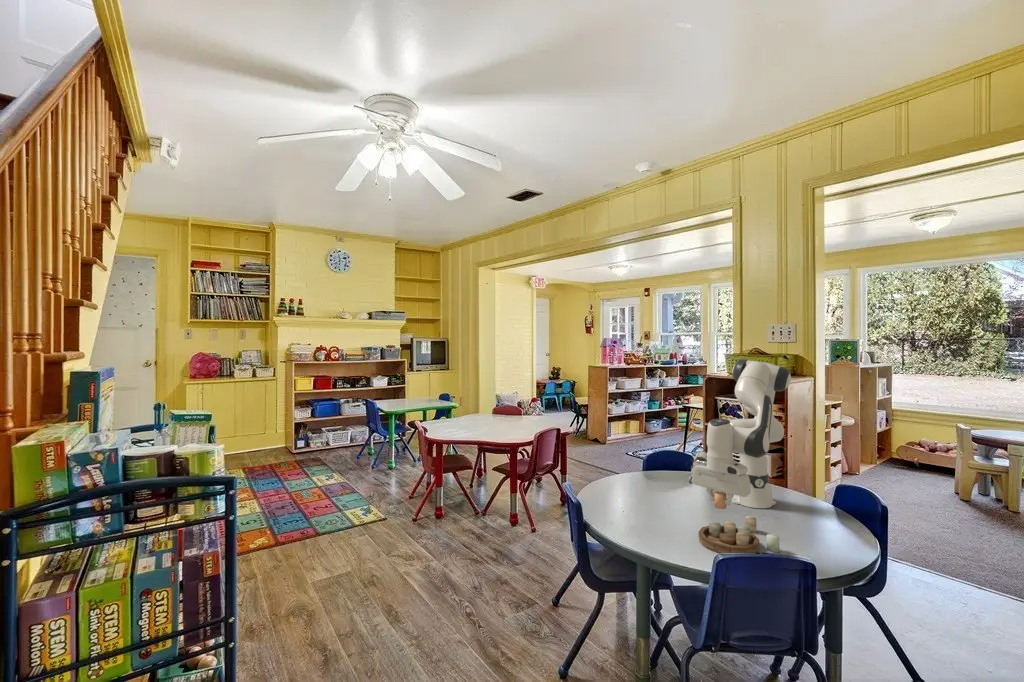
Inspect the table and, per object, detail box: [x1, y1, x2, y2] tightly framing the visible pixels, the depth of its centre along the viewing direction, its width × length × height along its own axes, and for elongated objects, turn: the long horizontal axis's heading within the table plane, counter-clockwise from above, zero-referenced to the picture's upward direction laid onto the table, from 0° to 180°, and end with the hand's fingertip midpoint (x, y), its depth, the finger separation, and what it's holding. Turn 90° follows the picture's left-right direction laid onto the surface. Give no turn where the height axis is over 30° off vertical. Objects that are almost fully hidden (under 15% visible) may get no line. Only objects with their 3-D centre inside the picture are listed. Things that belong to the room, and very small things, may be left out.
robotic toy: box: [685, 450, 707, 483], centre depth 248 cm, size 13×17×15 cm
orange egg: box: [713, 490, 728, 510], centre depth 167 cm, size 4×4×5 cm
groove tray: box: [698, 521, 760, 554], centre depth 171 cm, size 20×20×6 cm
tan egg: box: [744, 515, 757, 534], centre depth 183 cm, size 4×4×5 cm
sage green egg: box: [766, 533, 781, 554], centre depth 166 cm, size 4×4×5 cm
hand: (720, 502), depth 167 cm, fingers closed on orange egg, 4 cm apart
